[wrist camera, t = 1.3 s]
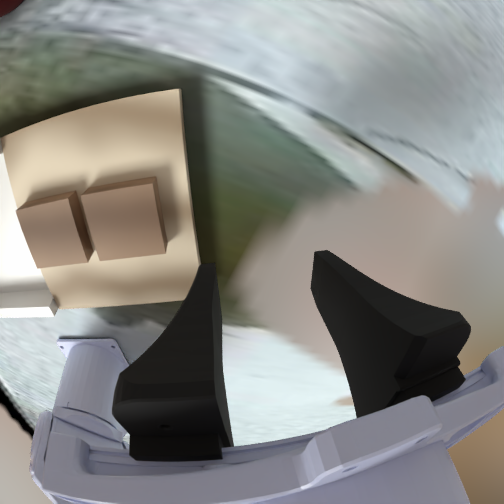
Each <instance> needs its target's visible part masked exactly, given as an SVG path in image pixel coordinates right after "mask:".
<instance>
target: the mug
mask: <svg viewBox="0 0 504 504" xmlns="http://www.w3.org/2000/svg"><path fill="white" fill-rule="evenodd" d="M22 1H23V0H0V17H2V16H4V15H6V14H8V13H10V12H11V11H13V10H14V9H15V8H17V7H18V6H19V5H20V4H21V2H22Z"/></svg>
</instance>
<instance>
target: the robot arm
mask: <svg viewBox="0 0 504 504" xmlns="http://www.w3.org/2000/svg"><path fill="white" fill-rule="evenodd" d="M311 291H312V294H313V297H314V300H315V303H316V305H317V308H318V310H319V312H320V314H321V316H322V318H323V320H324V322H325V324H326V326H327V329H328V331H329V333H330V335H331V337H332V339H333V341H334V343H335V345H336V347H337V350H338V352H339V355H340V357H341V361H342V364H343V367H344V370H345V373H346V376H347V380H348V383H349V387H350V391H351V394H352V398H353V402H354V407H355V411H356V416H357V418H356V419H353V420H350V421H346V422H344V423H341V424H338V425H336V426H333V427H330V428H328V429H326V430H323V431H319V432H315V433H311V434H306V435H302V436H297V437H292V438H287V439H282V440H277V441H271V442H265V443H258V444H251V445H244V446H235V447H234V444H233V438H232V432H231V425H230V419H229V412H228V405H227V398H226V390H225V383H224V375H223V363H222V315H221V307H220V298H219V290H218V283H217V275H216V267H215V263H208V264H200V266H199V267H198V270H197V273H196V276H195V279H194V281H193V283H192V286H191V288H190V290H189V292H188V294H187V296H186V298H185V300H184V301H183V303H182V305H181V307H180V309H179V310H178V312H177V313H176V315H175V317H174V318H173V319H172V321H171V322H170V324H169V325H168V326H167V328H166V329H165V330H164V332H163V333H162V334H161V335H160V337H159V338H158V339H157V340H156V341H155V342H154V343H153V344H152V345H151V346H150V347H149V348H148V349H147V350H146V351H145V352H144V353H143V354H142V355H141V356H140V357H139V358H138V359H137V360H136V361H134V362H133V363H132V364H131V365H130V366H129V364H128V362H127V361H126V359H125V357H124V355H123V353H122V351H121V349H120V348H119V346H118V344H117V342H116V340H114V339H58V340H57V342H56V343H57V345H58V347H59V348H60V350H61V351H62V353H63V354H64V355H65V357H66V358H67V360H66V364H65V367H64V370H63V374H62V377H61V381H60V384H59V388H58V392H57V396H56V400H55V404H54V408H53V411H52V412H50V411H48V410H45V412H41V413H40V415H39V418H38V421H37V424H36V428H35V432H34V436H33V441H32V447H31V462H30V468H29V469H30V473H31V476H32V479H33V480H34V482H35V483H36V484H37V485H38V487H39V488H40V489H41V490H42V491H43V492H44V493H45V494H46V495H47V497H48V498H49V499H50V500H51V501H52V502H53V504H470V502H469V499H468V496H467V494H466V492H465V489H464V487H463V484H462V482H461V480H460V478H459V475H458V473H457V471H456V468H455V466H454V464H453V462H452V460H451V457H450V455H449V453H448V451H447V449H448V448H450V447H452V446H453V445H455V444H456V443H458V442H459V441H461V440H462V439H464V438H465V437H466V436H468V435H469V434H471V433H472V432H474V431H475V430H476V429H478V428H479V427H480V426H482V425H483V424H484V423H486V422H487V421H488V420H490V419H491V418H492V417H494V416H495V415H496V414H497V413H499V412H500V411H501V410H502V409H503V408H504V346H501V347H500V348H498V349H497V350H495V351H493V352H492V353H490V354H489V355H488V356H487V357H486V358H485V360H484V361H483V362H482V364H481V366H480V367H478V368H477V369H475V370H473V371H471V372H469V373H468V374H466V375H463V374H462V372H461V371H460V369H459V368H458V366H459V365H460V361H459V359H458V358H457V356H458V354H459V353H460V351H461V349H462V348H463V346H464V345H465V343H466V342H467V339H468V338H469V335H470V332H471V326H470V325H469V323H468V322H467V321H466V320H465V318H464V317H463V316H462V315H461V313H460V312H457V311H452V310H447V309H443V308H438V307H435V306H431V305H428V304H425V303H422V302H419V301H416V300H414V299H411V298H409V297H406V296H404V295H401V294H399V293H397V292H395V291H393V290H391V289H389V288H387V287H385V286H383V285H381V284H379V283H378V282H376V281H374V280H373V279H371V278H369V277H368V276H366V275H364V274H363V273H361V272H359V271H358V270H357V269H355V268H354V267H352V266H351V265H349V264H348V263H346V262H345V261H343V260H342V259H340V258H339V257H337V256H336V255H334V254H333V253H331V252H330V251H328V250H325V251H316V252H314V262H313V271H312V281H311ZM127 432H128V433H129V434H130V444H128V443H127V442H126V441H123V437H124V436H125V434H126V433H127Z"/></svg>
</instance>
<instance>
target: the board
mask: <svg viewBox="0 0 504 504" xmlns="http://www.w3.org/2000/svg"><path fill="white" fill-rule="evenodd" d="M1 143H2V149H3V154H4V159H5V164H6V168H7V172H8V176H9V180H10V184H11V188H12V192H13V195H14V199H15V202H16V206H17V209H18V208H19V207H20V206H21V205H23V204H24V203H25V202H29V201H33V200H37V199H41V198H45V197H49V196H53V195H57V194H62V193H66V192H71V191H75V190H76V192H77V196H78V200H79V203H80V207H81V211H82V214H83V218H84V222H85V225H86V228H87V232H88V235H89V238H90V241H91V244H92V248H93V251H94V252H93V254H92V256H91V258H90V260H89V262H88V263H81V264H72V265H64V266H56V267H47V268H40V270H41V272H42V275H43V277H44V279H45V281H46V283H47V286H48V288H49V290H50V292H51V294H52V296H53V298H54V300H55V302H56V304H57V306H58V308H59V309H74V308H92V307H107V306H121V305H135V304H147V303H159V302H170V301H180V300H185V298H186V296H187V294H188V292H189V290H190V288H191V286H192V283H193V281H194V279H195V276H196V273H197V270H198V267H199V266H200V264H201V262H200V255H199V248H198V241H197V234H196V227H195V219H194V212H193V204H192V196H191V187H190V179H189V170H188V160H187V150H186V140H185V129H184V117H183V104H182V90H181V89H173V90H166V91H159V92H153V93H147V94H142V95H136V96H131V97H126V98H122V99H117V100H113V101H109V102H104V103H100V104H96V105H93V106H89V107H85V108H82V109H78V110H75V111H71V112H68V113H65V114H62V115H59V116H56V117H53V118H50V119H47V120H44V121H41V122H38V123H36V124H33V125H31V126H28V127H25V128H23V129H20V130H18V131H16V132H13V133H11V134H8V135H6V136H4V137H2V138H1ZM155 176H156V178H157V184H158V191H159V197H160V203H161V209H162V214H163V220H164V225H165V231H166V236H167V241H168V245H167V250H166V254H160V255H151V256H142V257H133V258H124V259H115V260H107V261H100V260H99V258H98V255H97V252H96V248H95V245H94V242H93V239H92V236H91V232H90V229H89V226H88V222H87V219H86V215H85V212H84V208H83V204H82V200H81V195H82V194H83V193H84V192H85V191H86V190H87V189H88V188H90V187H95V186H100V185H106V184H111V183H117V182H123V181H129V180H135V179H141V178H148V177H155Z"/></svg>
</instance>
